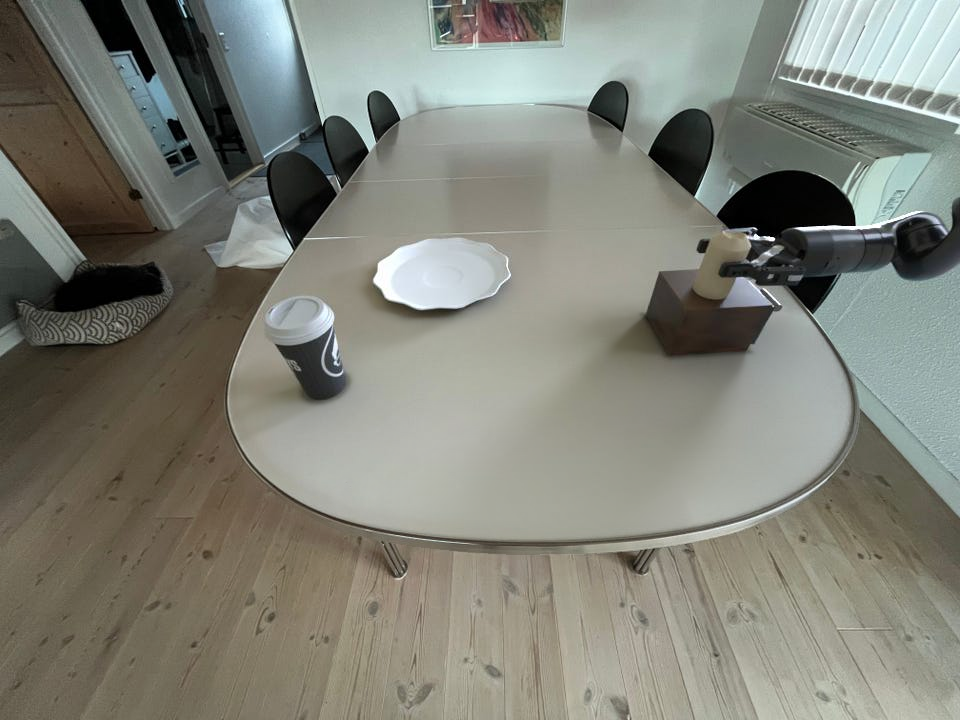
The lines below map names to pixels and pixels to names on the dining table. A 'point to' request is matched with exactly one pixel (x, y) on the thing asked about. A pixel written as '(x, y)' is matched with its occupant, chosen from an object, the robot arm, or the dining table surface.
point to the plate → (441, 274)
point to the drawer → (775, 308)
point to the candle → (717, 253)
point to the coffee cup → (307, 344)
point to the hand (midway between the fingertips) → (709, 257)
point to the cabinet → (704, 315)
